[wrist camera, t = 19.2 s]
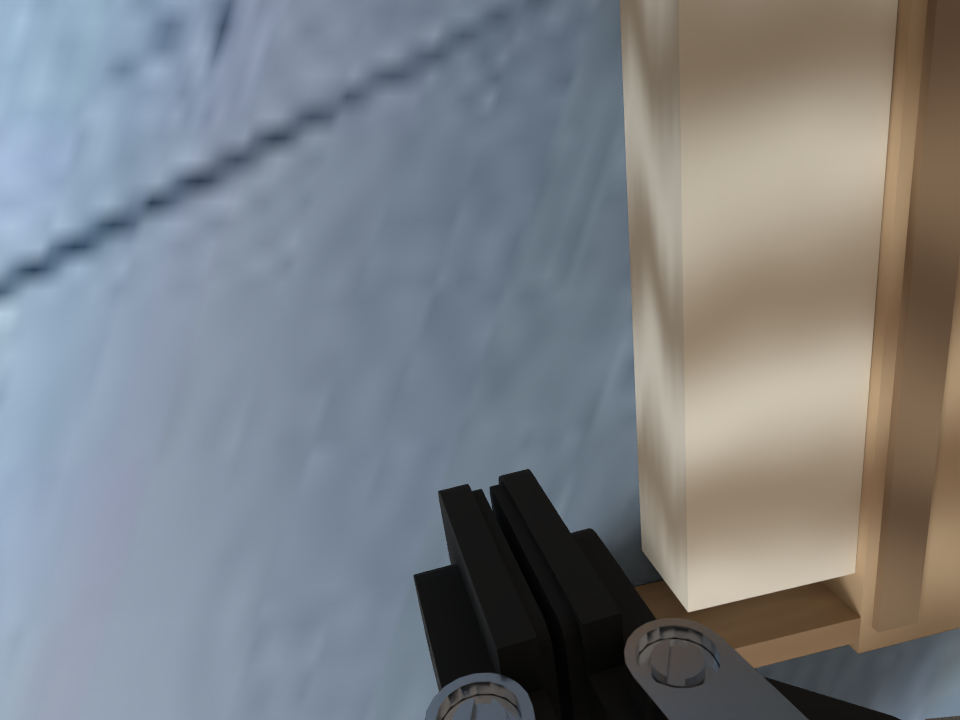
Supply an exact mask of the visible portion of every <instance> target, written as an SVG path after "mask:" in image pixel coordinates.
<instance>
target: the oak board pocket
mask: <svg viewBox="0 0 960 720" xmlns="http://www.w3.org/2000/svg"><path fill="white" fill-rule="evenodd" d="M634 588H635V589H636V591H637V592H638V593H639V595H640V596H641V598H642V599H643V601H644V602H645V603H646V605H647V606H648V608H649V609H650V611H651V612H652V613H653V615H654V616H655V618H656V619H657V620H658V619H664V618H680V619H686V620H691V621H694V622H697V623H699V624H702V625H704V626H707V627H708V628H710V629H711V630H713V631H714V632H715V633H717V634H718V635H720V636H721V637H722V638H723V639H724V640H725V641H726V642H727V643H728V644H729V645H730V646H731V647H732V648H733V649H734V650H735V651H737V652H738V653H739V654H740V655H741V656H742V657H743V658H744V659H745V660H746V661H747V662H748V663H749V664H750V665H751V666H752V667H753V668H758V667H762V666H765V665H769V664H773V663H777V662H781V661H785V660H789V659H793V658H797V657H801V656H805V655H809V654H813V653H817V652H821V651H825V650H829V649H833V648H837V647H841V646H845V645H850V646H851V647H852V648H853V649H854V650H855V651H856V652H857V653H858V654H859V653H863V652H867V651H871V650H875V649H878V648H882V647H886V646H890V645H894V644H898V643H902V642H906V641H910V640H914V639H918V638H922V637H925V636H929V635H933V634H937V633H941V632H945V631H949V630H953V629H957V628H960V0H898V9H897V22H896V36H895V49H894V62H893V76H892V89H891V102H890V115H889V129H888V142H887V155H886V169H885V182H884V195H883V208H882V222H881V235H880V248H879V262H878V275H877V288H876V301H875V315H874V328H873V341H872V355H871V368H870V381H869V394H868V408H867V421H866V434H865V448H864V461H863V474H862V487H861V501H860V514H859V527H858V541H857V554H856V567H855V573H853V574H849V575H845V576H841V577H836V578H832V579H828V580H824V581H819V582H815V583H811V584H807V585H802V586H798V587H794V588H790V589H785V590H781V591H777V592H773V593H768V594H764V595H760V596H756V597H751V598H747V599H743V600H739V601H734V602H730V603H726V604H722V605H717V606H713V607H709V608H705V609H700V610H696V611H692V612H687V610H686V609H685V607H684V606H683V605H682V603H681V602H680V601H679V599H678V598H677V597H676V595H675V594H674V593H673V591H672V590H671V589H670V587H669V586H668V585H667V583H666V582H665V581H664V580H662V581H658V582H654V583H649V584H645V585H640V586H636V587H634Z"/></svg>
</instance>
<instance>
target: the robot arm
mask: <svg viewBox="0 0 960 720" xmlns="http://www.w3.org/2000/svg"><path fill="white" fill-rule="evenodd" d="M438 495H439V502H440V507H441V513H442V518H443V524H444V530H445V535H446V541H447V546H448V552H449V557H450V563H451V565H449V566H445V567H441V568H438V569H434V570H430V571H426V572H422V573H419V574H415V575H414V581H415V586H416V591H417V596H418V601H419V606H420V610H421V615H422V620H423V624H424V629H425V634H426V638H427V643H428V647H429V651H430V656H431V660H432V664H433V668H434V673H435V677H436V681H437V685H438V689H439V693H438V694H437V695H436V696H435V697H434V698H433V700H432V701H431V703H430V705H429V707H428V709H427V711H426V716H425V720H901V719H898V718H896V717H893V716H891V715H888V714H884V713H881V712H878V711H875V710H871V709H868V708H865V707H861V706H858V705H855V704H851V703H848V702H845V701H842V700H838V699H835V698H832V697H828V696H825V695H822V694H818V693H815V692H812V691H809V690H805V689H802V688H799V687H795V686H792V685H789V684H785V683H782V682H779V681H776V680H772V679H769V678H766V677H763V676H762V675H761V674H760V673H759V672H758V671H757V670H756V669H755V668H753V667H752V666H751V665H750V664H749V663H748V662H747V661H746V660H745V659H744V658H743V657H742V656H741V655H740V654H739V653H738V652H737V651H735V650H734V649H733V648H732V647H731V646H730V645H729V644H728V643H727V642H726V641H725V640H724V639H723V638H722V637H721V636H720V635H718V634H717V633H715V632H714V631H713V630H711V629H710V628H708V627H707V626H704V625H702V624H699V623H697V622H694V621H691V620H686V619H680V618H664V619H658V620H657V619H656V618H655V616H654V615H653V613H652V612H651V611H650V609H649V608H648V606H647V605H646V603H645V602H644V601H643V599H642V598H641V596H640V595H639V593H638V592H637V591H636V589H635V588H634V586H633V585H632V583H631V582H630V581H629V579H628V578H627V576H626V575H625V573H624V572H623V571H622V569H621V568H620V566H619V565H618V563H617V562H616V561H615V559H614V558H613V556H612V555H611V553H610V552H609V551H608V549H607V548H606V546H605V545H604V543H603V542H602V541H601V539H600V538H599V536H598V535H597V534H596V532H595V531H594V530H593V529H590V528H588V529H585V530H581V531H577V532H573V533H570V531H569V530H568V528H567V527H566V525H565V524H564V522H563V521H562V519H561V517H560V516H559V514H558V513H557V511H556V510H555V508H554V506H553V505H552V503H551V502H550V500H549V499H548V497H547V495H546V494H545V492H544V491H543V489H542V488H541V486H540V485H539V483H538V481H537V480H536V478H535V477H534V475H533V474H532V472H531V471H530V470H529V469H526V470H522V471H518V472H514V473H510V474H506V475H502V476H499V485H495V486H491V487H490V497H491V503H492V509H491V507H490V505H489V503H488V501H487V499H486V497H485V495H484V492H483V491H482V489H479V490H475V491H471V488H470V486H469V485H468V484H465V485H461V486H457V487H453V488H449V489H445V490H441V491H438ZM492 510H493V511H492ZM925 720H960V716H952V717H942V718H931V719H925Z"/></svg>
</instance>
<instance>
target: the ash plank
mask: <svg viewBox="0 0 960 720" xmlns="http://www.w3.org/2000/svg"><path fill="white" fill-rule="evenodd" d="M897 9H898V0H620V19H621V44H622V69H623V94H624V119H625V144H626V169H627V193H628V218H629V243H630V268H631V293H632V318H633V342H634V367H635V392H636V417H637V442H638V467H639V492H640V516H641V541H642V551H643V552H644V554H645V555H646V556H647V558H648V559H649V561H650V562H651V563H652V565H653V566H654V567H655V569H656V570H657V571H658V573H659V574H660V575H661V577H662V578H663V579H664V581H665V582H666V583H667V585H668V586H669V587H670V589H671V590H672V591H673V593H674V594H675V595H676V597H677V598H678V599H679V601H680V602H681V603H682V605H683V606H684V607H685V609H686V610H687V612H692V611H696V610H700V609H705V608H709V607H713V606H717V605H722V604H726V603H730V602H734V601H739V600H743V599H747V598H751V597H756V596H760V595H764V594H768V593H773V592H777V591H781V590H785V589H790V588H794V587H798V586H802V585H807V584H811V583H815V582H819V581H824V580H828V579H832V578H836V577H841V576H845V575H849V574H853V573H855V567H856V554H857V541H858V527H859V514H860V501H861V487H862V474H863V461H864V448H865V434H866V421H867V408H868V394H869V381H870V368H871V355H872V341H873V328H874V315H875V301H876V288H877V275H878V262H879V248H880V235H881V222H882V208H883V195H884V182H885V169H886V155H887V142H888V129H889V115H890V102H891V89H892V76H893V62H894V49H895V36H896V22H897Z"/></svg>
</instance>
